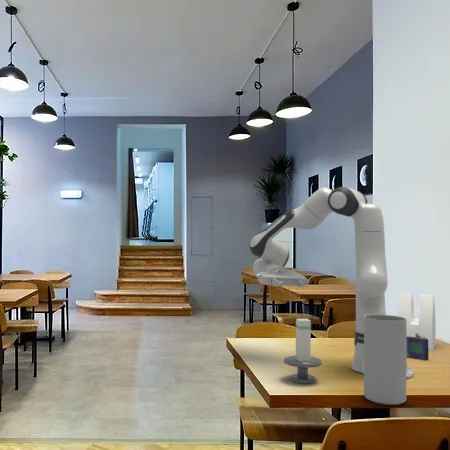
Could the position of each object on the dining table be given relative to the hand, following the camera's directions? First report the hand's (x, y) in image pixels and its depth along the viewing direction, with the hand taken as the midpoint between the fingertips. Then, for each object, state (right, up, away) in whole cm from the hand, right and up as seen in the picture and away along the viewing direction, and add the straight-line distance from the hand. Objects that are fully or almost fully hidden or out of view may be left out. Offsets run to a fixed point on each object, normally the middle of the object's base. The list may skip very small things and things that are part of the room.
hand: (291, 284), depth 185 cm
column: (+1, -24, -22) cm, 32 cm away
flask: (+56, -33, +14) cm, 66 cm away
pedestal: (+1, -31, -22) cm, 38 cm away
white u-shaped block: (+66, -35, +40) cm, 85 cm away
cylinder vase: (+23, -30, -41) cm, 56 cm away
